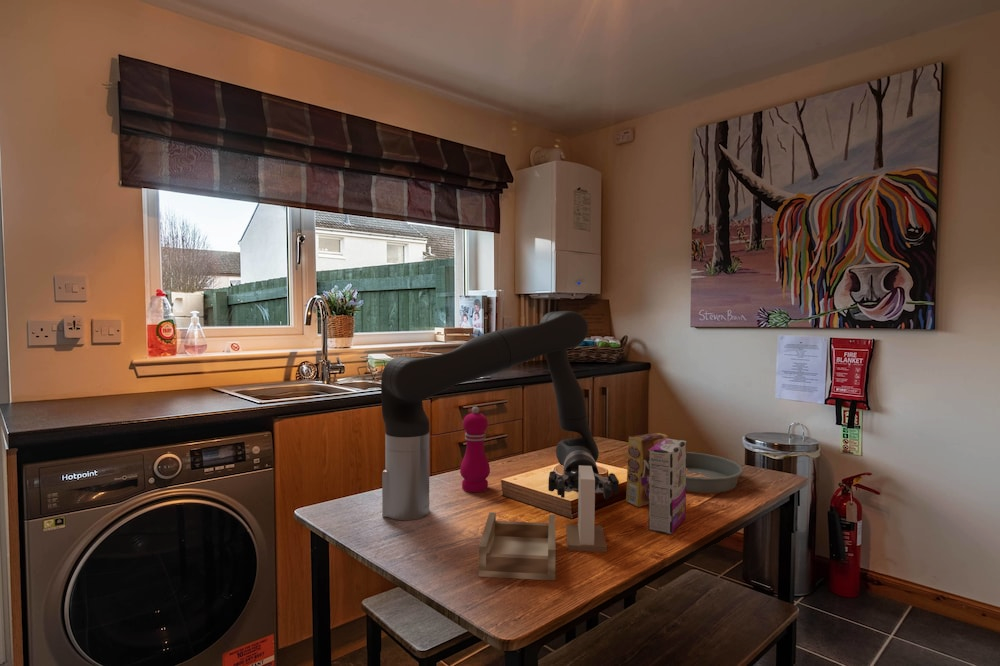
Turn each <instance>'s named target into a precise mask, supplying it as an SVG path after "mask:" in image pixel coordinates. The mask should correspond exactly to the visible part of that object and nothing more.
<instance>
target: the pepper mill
mask: <svg viewBox="0 0 1000 666" xmlns="http://www.w3.org/2000/svg"><path fill="white" fill-rule="evenodd" d="M479 411H480V408H479V407H478V406H473V407H472V408H471V413H468V414H467V415H465V416H464V418H463V421H462V427H463V430H465V433H464V439H465V440H466V449H465V453H464V457H463V459H462V461H461V465H460V468H459V470H460V471H459V473H460V475H461V477H462V478H463V480H462V482H461V489H462V490H463V491H465V492H469V493H482V492H485V491H487V489H488V488H489V481H488V480H487V478H488V477H489V476H490V473H491V468H490V467H491V466H490V463H489V461H488V458H487V455H486V452H485V446H484V443H485V439H486V435H487V434H486V430H487V429H488V426H489V424H488V419H487V417H486V416H485V415H484V414H483V413H479Z"/></svg>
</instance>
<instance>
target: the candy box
mask: <svg viewBox="0 0 1000 666" xmlns="http://www.w3.org/2000/svg"><path fill="white" fill-rule="evenodd" d="M668 437H669V436H668V435H667V434H665V433H660V432H650V433H644V434H637V435H629V436H628V444H627V445H628V447H627V448H628V449H627V451H628V452H627V469H626V470H627V471H626V472H627V473H626V476H627V477H626V494H625V495H626V496H625V503H628V504H631V505H632V506H635V507H637V508H642V507H644V506H649V449H650V448H652V447H653V446H655V445H656V444H657V443H659V442H660V441H662V440H663V439H665V438H668Z"/></svg>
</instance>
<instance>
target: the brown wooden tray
mask: <svg viewBox="0 0 1000 666" xmlns="http://www.w3.org/2000/svg"><path fill="white" fill-rule="evenodd" d="M496 513H497V512H493V511H491V512H490V511H489V512H488V516H487V519H486V521H485V525H484V527H483V531H482V535H481V537H480V541H479V544H478V577H483V578H500V579H517V580H518V579H519V580H521V579H522V580H535V581H536V580H537V581H538V580H539V581H540V580H541V581H556V549H557V548H556V515H555V514H548V522H531V521H510V520H509V521H508V520H507V521H505V520H497V519H496V518H497V517H496V515H497V514H496Z"/></svg>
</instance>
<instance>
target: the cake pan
mask: <svg viewBox="0 0 1000 666" xmlns="http://www.w3.org/2000/svg"><path fill="white" fill-rule="evenodd" d="M686 468H687V469H688V470H687V471H690V472H688V473H691V474H692V473H696V474H694V475H699V474H702V475H704V476H706V477H708V476H709V477H710V478H705V477H690V476H686V492H688V491H691V492H690V493H698V492H700V493H699V494H701V493H702V494H710V493H711V494H712V493H713V494H714V493H715V494H717V493H724V492H728V491H732V490H734V489H735V488H736V487H737V484H738V480H739V476H741V475H742V474H744V472H745V469H744V467H743V466H742V465H741V464H739V463H738V462H736V461H734V460H731V459H729V458H728V459H727V458H725V457H722V456H718V455H714V454H707V453H700V452H695V451H693V452H691V451H690V452H689V451H686ZM699 472H701V473H699Z"/></svg>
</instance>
